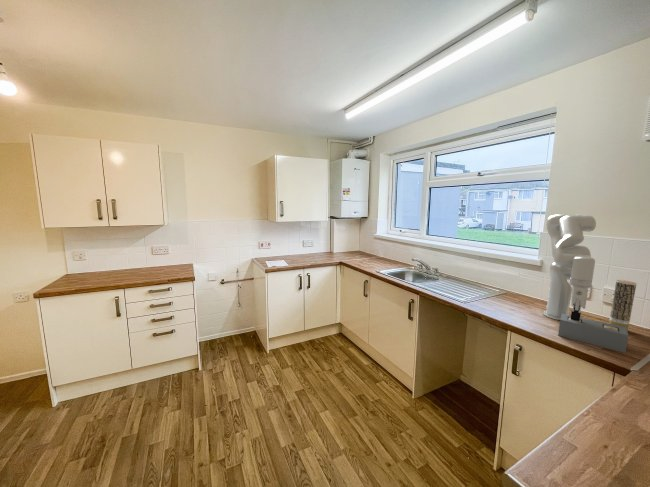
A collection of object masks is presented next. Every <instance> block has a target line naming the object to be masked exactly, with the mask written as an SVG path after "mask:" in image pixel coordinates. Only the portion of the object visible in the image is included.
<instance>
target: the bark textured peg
mask: <svg viewBox="0 0 650 487" xmlns="http://www.w3.org/2000/svg"><path fill="white" fill-rule="evenodd" d="M636 288H637V282H634V281H629V280H623V279H617V280H616V282H615V288H614V292H613V298H612V299H613V300H612V305H611V309H610V316H609V321H608V324H613V325H617V326H622V327H626V329H627V332H628V331H629V327H630V322H631V316H632V311H633V305H634V304H633V303H634V300H635V294H636Z"/></svg>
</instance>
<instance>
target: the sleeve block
mask: <svg viewBox="0 0 650 487" xmlns="http://www.w3.org/2000/svg"><path fill="white" fill-rule="evenodd" d="M569 318H571V314H568V315H567V314H562V315H561V319H560V320H559V324H558V325H559V326H558V334H557V336H559V337H562V338H567V339H571V340H574V341H579V342H582V343H586V344H588V345H593V346H598V347H602V348H605V349H608V350H612V351H616V352H619V353H620V352H621V353H623V354H626V351H627V346H628V339H629V333H628V331H627V329H626V327H622V326H617V325H613V324H609V322H608V323H607V322H603V321H598V320H593V319H588V318H585V317H581V316H580V320H581V322H577V321H572V320H569ZM604 326H612V327H615V328H617V329H618V331H616V330H612V329H607V328H604Z"/></svg>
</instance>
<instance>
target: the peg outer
mask: <svg viewBox="0 0 650 487" xmlns="http://www.w3.org/2000/svg"><path fill="white" fill-rule="evenodd" d="M604 328H607V329H612V330H616V331H618V329H617V328H615V327H612V326H604Z"/></svg>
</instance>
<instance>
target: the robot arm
mask: <svg viewBox="0 0 650 487" xmlns="http://www.w3.org/2000/svg"><path fill="white" fill-rule="evenodd" d="M596 227H597V221H596V219H595V218H594V216H592V215H588V214H567V213H565V214H562V213H561V214H559V213H557V214H552V215H549V217H547V220H546V230H547V234H548V235H549V237H550V240H551V252H552V253H551V255H552V258H553V261H554V262H552V263H551V264H550V266H549V276H550V277H549V278H550V280H549V289H548V296H547V302H546V303H547V304H546V305H545V308H546V310H542V315H543V316H545V317H547V318H550V319H554V320H556V321H560V319H561V315H562V314H567V315H569V314H570V307H572V310H571V314H570V315H571V320H576V321H580V317H581V315H582V313H581V310H582V309H583V310H584V309H586V306H587V299H588V292H589V289H591V288H592V287H593V286H592V285H593V279H594V272H595V265H596V259H595V258H593V257H592V255H591V251H590V249H589V248H588V247H587V246H584V245H579V244H581V243H583V242H584V240H585V236H584V232H590V233H591V232H592V231H594V230H595V229H596Z"/></svg>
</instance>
